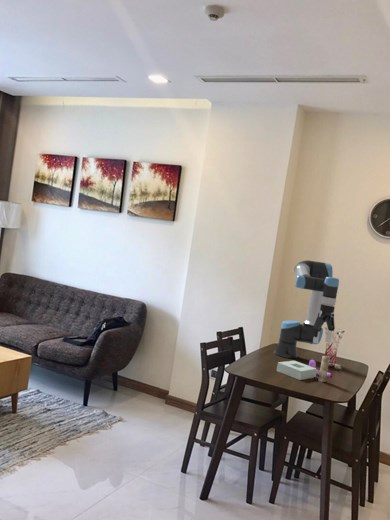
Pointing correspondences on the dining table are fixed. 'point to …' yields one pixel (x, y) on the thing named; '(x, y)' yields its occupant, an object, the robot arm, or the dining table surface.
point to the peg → (323, 368)
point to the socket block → (296, 370)
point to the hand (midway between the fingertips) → (321, 342)
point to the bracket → (313, 364)
